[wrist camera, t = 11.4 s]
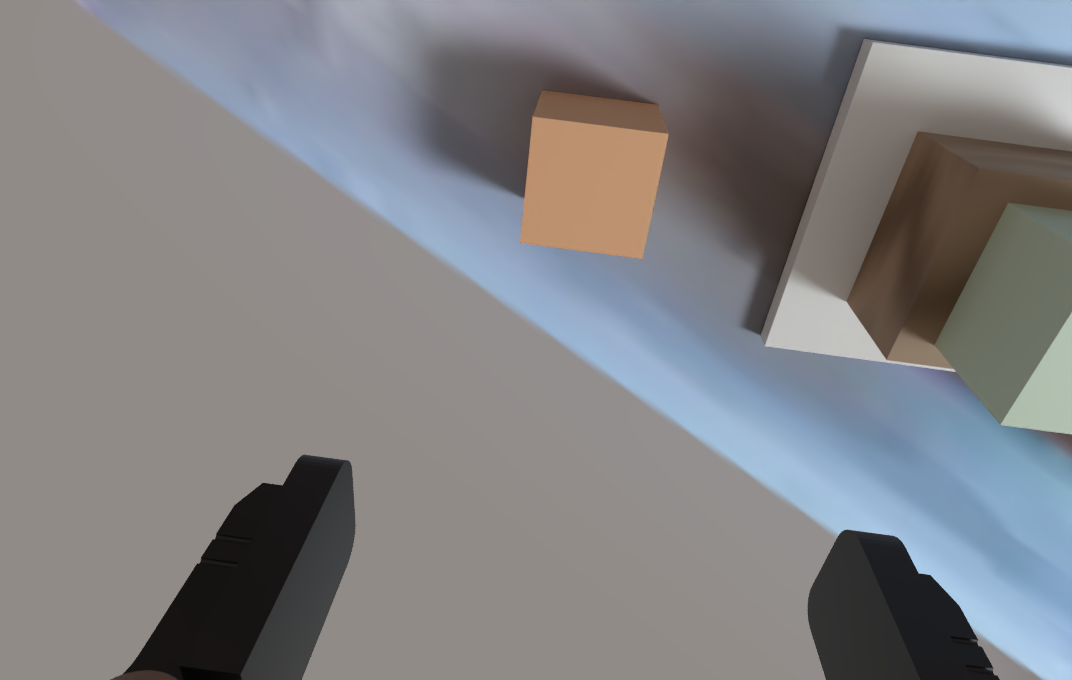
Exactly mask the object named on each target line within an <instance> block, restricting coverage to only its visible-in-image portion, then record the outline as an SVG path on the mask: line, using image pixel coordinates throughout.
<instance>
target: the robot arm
mask: <svg viewBox="0 0 1072 680" xmlns="http://www.w3.org/2000/svg"><path fill="white" fill-rule="evenodd" d="M354 535H355V509H354V493H353V478H352V466H351V463H350V462H349V461H347V460H339V459H332V458H324V457H316V456H310V455H302V456H301V457H300V458H299V459H298V460H297V462H296V463H295V465H294V467H293V468H292V470H291V472H290V474H289V475H288V477H287V479H286V481H285V483H284V484H283V486H282V485H275V484H267V483H262V484H261V485H260V486H258V487H257V488H256V489H255V490H253V491H252V492H251V493H250V494H248V495H247V496H246V497H244V498H243V499H242V500H241V501H239V502H238V503H237V504H236V505H234V507H233V509H232V510H231V512H230V513H229V515H228V516H227V518H226V519H225V521H224V523H223V524H222V526H221V527H220V529H219V531H218V532H217V534H216V538H215V540H212V542H211V543H210V545H209V546H208V548H207V549H206V551H205V552H204V554H203V555H202V557H201V562H200V563H199V564H197V565H196V566H195V568H194V570H193V571H192V573H191V574H190V576H189V577H188V579H187V581H186V582H185V583H184V585H183V587H182V588H181V590H180V591H179V593H178V594H177V596H176V598H175V599H174V601H173V602H172V604H171V605H170V607H169V608H168V610H167V612H166V613H165V615H164V616H163V618H162V619H161V621H160V623H159V624H158V626H157V627H156V629H155V631H154V632H153V634H152V635H151V637H150V638H149V640H148V641H147V643H146V645H145V646H144V648H143V649H142V651H141V652H140V654H139V655H138V657H137V658H136V659H135V661H134V662H133V664H132V665H131V666H130V667H129V668H128V669H127V670H126V672H124V673H123V674H122V675H120V676H118V677H115V678H113V679H111V680H302V677H303V675H304V672H305V670H306V667H307V665H308V662H309V660H310V657H311V655H312V652H313V650H314V647H315V644H316V642H317V639H318V637H319V635H320V632H321V630H322V627H323V625H324V622H325V620H326V617H327V614H328V612H329V610H330V607H331V605H332V602H333V599H334V597H335V594H336V592H337V589H338V587H339V584H340V582H341V579H342V577H343V574H344V572H345V569H346V567H347V564H348V562H349V558H350V555H351V552H352V547H353V543H354ZM808 620H809V625H810V629H811V633H812V636H813V639H814V642H815V645H816V649H817V652H818V655H819V658H820V662H821V664H822V668H823V671H824V674H825V677H826V680H1000V679H999V678H998V676H996V675H994V674H993V667H992V665H991V663H990V661H989V659H988V657H987V656H986V654H985V652H984V650H983V648H982V647H979V646H978V644H977V641H978V639H977V637H976V635H975V634H974V632H973V630H972V628H971V626H970V624H969V623H968V621H967V619H966V617H965V615H964V613H963V612H962V610H961V608H960V606H959V605H958V604H957V603H956V602H955V601H954V600H953V599H952V598H951V597H950V596H949V594H948V593H947V592H946V591H945V590H944V589H943V588H942V587H941V586H940V585H939V584H938V583H937V582H936V581H935V580H934V579H933V577H932V576H931V575H925V574H919V573H918V571H917V569H916V567H915V566H914V564H913V562H912V560H911V558H910V556H909V554H908V552H907V550H906V548H905V546H904V544H903V543H902V542H901V541H900V540H899V539H898V538H897V537H895V536H890V535H882V534H875V533H867V532H860V531H853V530H844V531H843V532H841V533H840V534H839V536H838V538H837V539H836V542H835V543H834V545H833V547H832V549H831V551H830V553H829V555H828V557H827V559H826V560H825V563H824V564H823V566H822V568H821V570H820V572H819V574H818V576H817V578H816V580H815V582H814V583H813V585H812V588H811V590H810V593H809V598H808Z"/></svg>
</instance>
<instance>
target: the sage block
mask: <svg viewBox="0 0 1072 680" xmlns="http://www.w3.org/2000/svg"><path fill="white" fill-rule="evenodd" d="M934 346H935V347H936V348H937V349H938V350H939V352H940V353H941V354H942V355H943V356H944V358H945V359H946V360H947V361H948V362H949V364H950V365H951V366H952V367H953V368H954V370H955V371H956V372H957V373H958V374H959V376H960V377H961V378H962V379H963V380H964V382H965V383H966V384H967V385H968V386H969V388H970V389H971V390H972V391H973V393H974V394H975V395H976V396H977V397H978V399H979V400H980V401H981V402H982V403H983V405H984V406H985V407H986V408H987V409H988V411H989V412H990V413H991V414H992V415H993V417H994V418H995V419H996V420H997V421H998V423H999V424H1000V425H1005V426H1013V427H1020V428H1028V429H1035V430H1043V431H1050V432H1058V433H1066V434H1072V211H1070V210H1062V209H1055V208H1047V207H1039V206H1031V205H1023V204H1016V203H1008V204H1007V206H1006V208H1005V210H1004V212H1003V214H1002V216H1001V218H1000V220H999V221H998V223H997V225H996V227H995V229H994V231H993V233H992V235H991V237H990V239H989V241H988V243H987V245H986V247H985V248H984V250H983V252H982V254H981V256H980V258H979V260H978V262H977V264H976V266H975V268H974V270H973V272H972V274H971V275H970V277H969V279H968V281H967V283H966V285H965V287H964V289H963V291H962V293H961V295H960V297H959V299H958V300H957V302H956V304H955V306H954V308H953V310H952V312H951V314H950V316H949V318H948V320H947V322H946V324H945V326H944V327H943V329H942V331H941V333H940V335H939V337H938V339H937V341H936V343H935V345H934Z"/></svg>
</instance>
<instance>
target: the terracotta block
mask: <svg viewBox="0 0 1072 680" xmlns="http://www.w3.org/2000/svg"><path fill="white" fill-rule="evenodd" d="M668 136H669V133H668V130H667V128H666V125H665V122H664V120H663V117H662V114H661V112H660V109H659V106H658V105H656V104H648V103H640V102H633V101H625V100H617V99H609V98H601V97H593V96H585V95H577V94H570V93H562V92H554V91H546V90H542V92H541V95H540V97H539V100H538V103H537V106H536V109H535V111H534V114H533V118H532V128H531V138H530V148H529V158H528V168H527V178H526V188H525V199H524V209H523V219H522V229H521V239H520V243H524V244H532V245H540V246H548V247H555V248H563V249H571V250H578V251H586V252H594V253H601V254H609V255H617V256H625V257H632V258H640V259H643V254H644V249H645V245H646V240H647V235H648V230H649V226H650V221H651V216H652V212H653V207H654V202H655V197H656V193H657V188H658V183H659V179H660V174H661V169H662V164H663V160H664V155H665V150H666V145H667V141H668Z"/></svg>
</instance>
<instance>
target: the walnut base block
mask: <svg viewBox="0 0 1072 680" xmlns="http://www.w3.org/2000/svg"><path fill="white" fill-rule="evenodd" d="M1008 203H1016V204H1023V205H1031V206H1039V207H1047V208H1055V209H1062V210H1070V211H1072V151H1064V150H1056V149H1049V148H1041V147H1033V146H1026V145H1018V144H1011V143H1003V142H995V141H988V140H980V139H972V138H965V137H957V136H949V135H942V134H934V133H927V132H919V131H918V132H917V135H916V137H915V139H914V142H913V144H912V146H911V149H910V151H909V154H908V156H907V158H906V161H905V163H904V166H903V168H902V170H901V173H900V175H899V177H898V180H897V182H896V185H895V187H894V189H893V192H892V194H891V197H890V199H889V201H888V204H887V206H886V209H885V211H884V213H883V216H882V218H881V220H880V223H879V225H878V228H877V230H876V232H875V235H874V237H873V240H872V242H871V244H870V247H869V249H868V252H867V254H866V256H865V259H864V261H863V263H862V266H861V268H860V271H859V273H858V275H857V278H856V280H855V283H854V285H853V287H852V290H851V292H850V294H849V297H848V299H847V303H848V305H849V306H850V308H851V309H852V311H853V312H854V314H855V315H856V316H857V318H858V319H859V321H860V322H861V324H862V325H863V327H864V328H865V330H866V331H867V332H868V334H869V335H870V337H871V338H872V340H873V341H874V343H875V344H876V346H877V347H878V348H879V350H880V351H881V353H882V354H883V356H884V357H885V359H886V360H890V361H897V362H904V363H912V364H919V365H927V366H934V367H942V368H949V369H954V368H953V367H952V366H951V365H950V364H949V362H948V361H947V360H946V359H945V358H944V356H943V355H942V354H941V353H940V352H939V350H938V349H937V348H936V347H935V346H934V345H935V343H936V341H937V339H938V337H939V335H940V333H941V331H942V329H943V327H944V326H945V324H946V322H947V320H948V318H949V316H950V314H951V312H952V310H953V308H954V306H955V304H956V302H957V300H958V299H959V297H960V295H961V293H962V291H963V289H964V287H965V285H966V283H967V281H968V279H969V277H970V275H971V274H972V272H973V270H974V268H975V266H976V264H977V262H978V260H979V258H980V256H981V254H982V252H983V250H984V248H985V247H986V245H987V243H988V241H989V239H990V237H991V235H992V233H993V231H994V229H995V227H996V225H997V223H998V221H999V220H1000V218H1001V216H1002V214H1003V212H1004V210H1005V208H1006V206H1007V204H1008Z"/></svg>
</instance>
